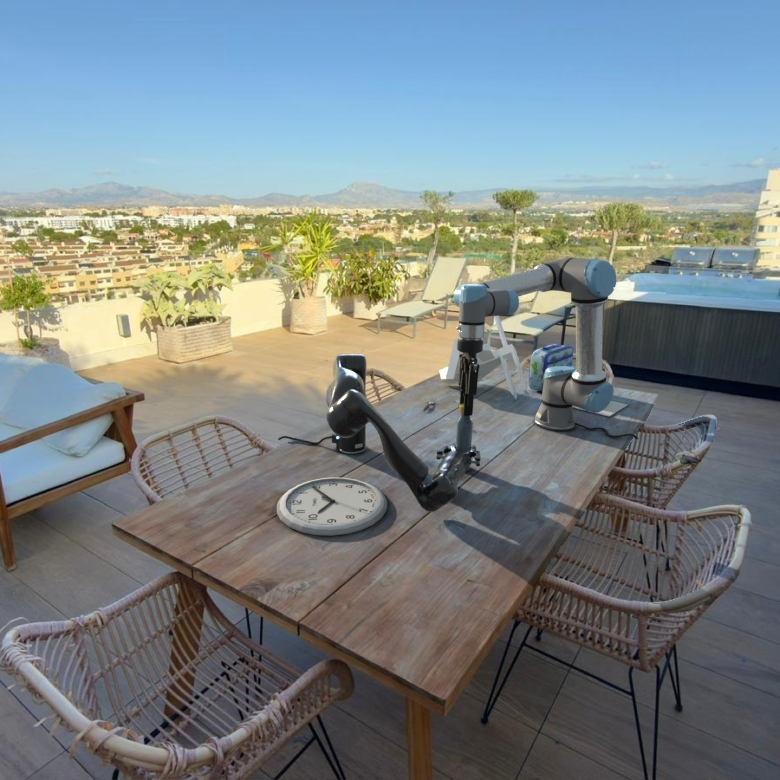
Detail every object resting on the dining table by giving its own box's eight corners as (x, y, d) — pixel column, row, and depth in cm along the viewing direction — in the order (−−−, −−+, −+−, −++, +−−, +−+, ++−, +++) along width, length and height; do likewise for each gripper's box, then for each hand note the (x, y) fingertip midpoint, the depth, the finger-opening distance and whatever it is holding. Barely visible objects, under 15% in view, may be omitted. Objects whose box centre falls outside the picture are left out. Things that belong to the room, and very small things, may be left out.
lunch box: (545, 396, 239) (550, 351, 232) (524, 391, 246) (528, 347, 240) (572, 385, 256) (577, 343, 250) (552, 380, 263) (557, 339, 257)
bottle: (471, 470, 164) (476, 409, 158) (457, 472, 164) (461, 410, 157) (466, 464, 169) (470, 404, 163) (452, 465, 168) (456, 405, 162)
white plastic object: (461, 429, 252) (437, 405, 227) (444, 352, 274) (420, 323, 250) (535, 404, 240) (518, 377, 215) (510, 326, 262) (492, 293, 237)
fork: (420, 411, 216) (420, 406, 216) (430, 400, 230) (431, 395, 230) (426, 412, 215) (426, 407, 215) (436, 401, 230) (436, 396, 229)
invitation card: (608, 416, 214) (573, 407, 224) (608, 416, 214) (573, 408, 224) (628, 404, 229) (594, 396, 238) (628, 405, 229) (594, 397, 238)
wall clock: (392, 527, 129) (268, 531, 127) (391, 533, 130) (269, 537, 127) (383, 473, 158) (282, 475, 155) (383, 478, 158) (282, 480, 156)
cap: (456, 412, 160) (457, 406, 159) (462, 409, 163) (463, 402, 163) (468, 415, 158) (469, 408, 157) (474, 411, 161) (475, 405, 161)
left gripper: (477, 460, 148) (488, 438, 163) (429, 452, 153) (443, 432, 168) (475, 484, 150) (486, 460, 166) (428, 475, 155) (442, 453, 170)
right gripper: (451, 332, 161) (447, 404, 168) (465, 344, 145) (460, 423, 152) (474, 332, 162) (470, 403, 169) (491, 343, 146) (485, 422, 153)
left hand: (465, 446), depth 167 cm, fingers closed on bottle, 4 cm apart
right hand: (465, 412), depth 161 cm, fingers closed on cap, 4 cm apart
